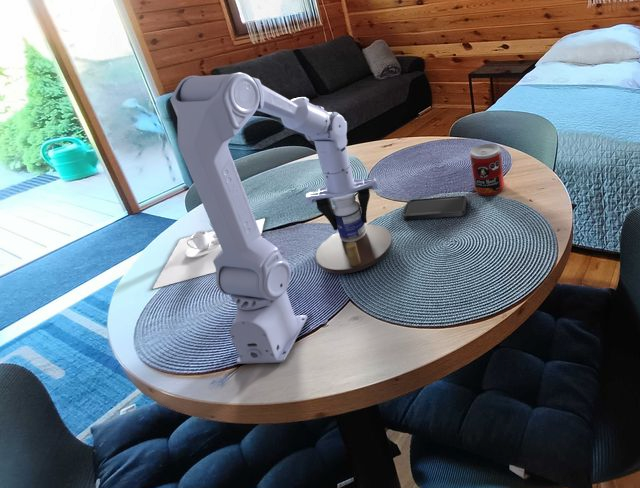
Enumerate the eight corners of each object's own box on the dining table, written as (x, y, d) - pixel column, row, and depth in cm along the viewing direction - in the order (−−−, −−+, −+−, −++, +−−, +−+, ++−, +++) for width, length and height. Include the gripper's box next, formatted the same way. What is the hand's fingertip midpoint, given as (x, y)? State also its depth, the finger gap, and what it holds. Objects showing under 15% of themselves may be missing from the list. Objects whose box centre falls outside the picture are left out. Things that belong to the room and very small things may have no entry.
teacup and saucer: (229, 234, 107) (224, 220, 105) (223, 252, 99) (217, 237, 98) (190, 244, 104) (184, 230, 103) (181, 263, 97) (174, 247, 96)
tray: (382, 271, 84) (376, 248, 82) (303, 276, 85) (296, 253, 83) (400, 225, 98) (395, 205, 96) (332, 230, 100) (327, 210, 98)
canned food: (471, 195, 110) (465, 156, 106) (479, 181, 117) (474, 143, 113) (500, 196, 108) (496, 156, 104) (507, 181, 115) (503, 143, 111)
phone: (408, 199, 109) (466, 195, 108) (408, 203, 110) (467, 199, 108) (401, 216, 102) (464, 211, 100) (402, 220, 102) (464, 216, 101)
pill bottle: (338, 233, 97) (327, 194, 93) (363, 225, 99) (354, 186, 95) (342, 246, 92) (331, 205, 88) (369, 237, 94) (359, 197, 90)
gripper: (370, 153, 94) (382, 207, 99) (301, 168, 91) (317, 223, 96) (372, 165, 88) (385, 222, 93) (298, 182, 85) (315, 240, 90)
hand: (350, 224), depth 94 cm, fingers closed on pill bottle, 5 cm apart
